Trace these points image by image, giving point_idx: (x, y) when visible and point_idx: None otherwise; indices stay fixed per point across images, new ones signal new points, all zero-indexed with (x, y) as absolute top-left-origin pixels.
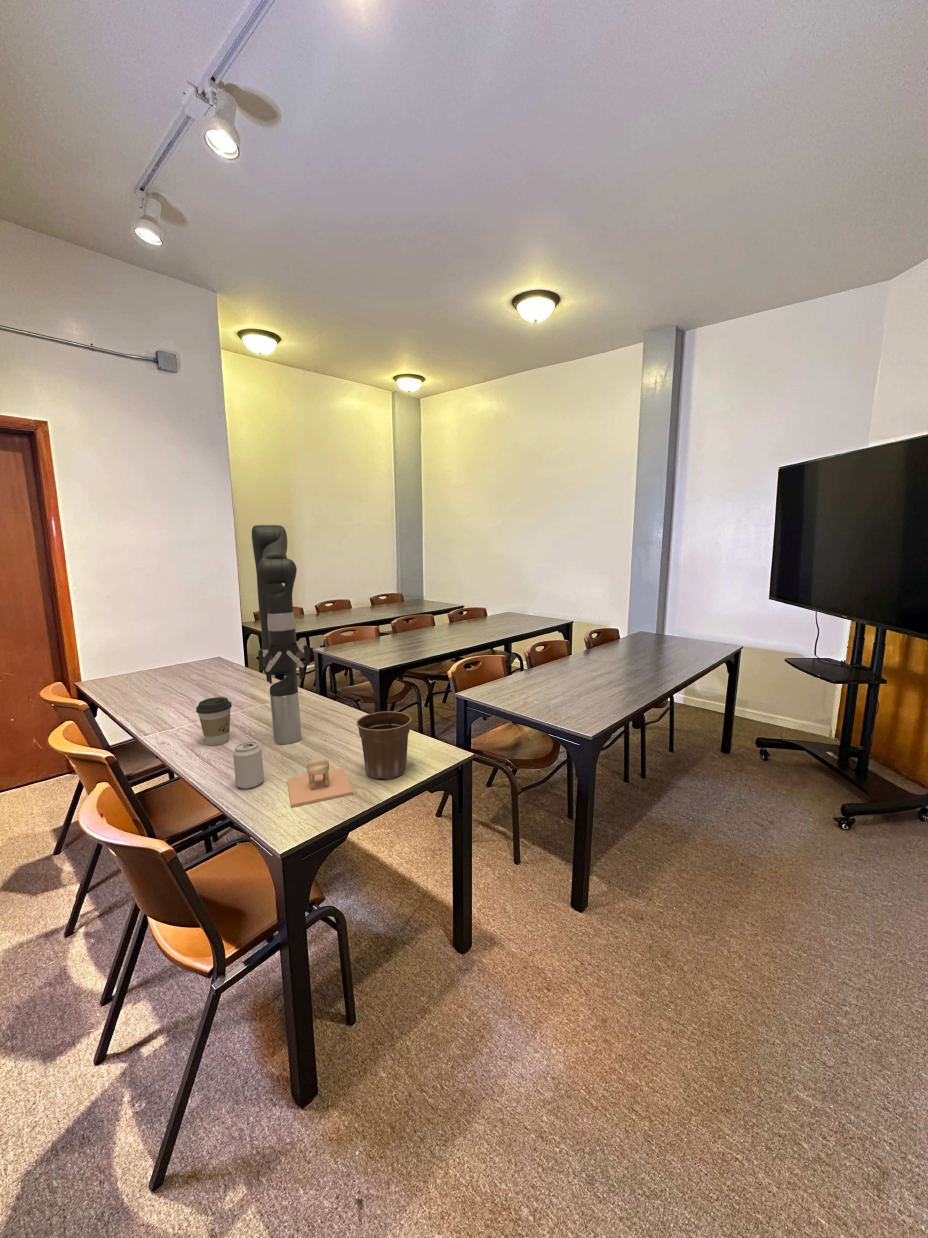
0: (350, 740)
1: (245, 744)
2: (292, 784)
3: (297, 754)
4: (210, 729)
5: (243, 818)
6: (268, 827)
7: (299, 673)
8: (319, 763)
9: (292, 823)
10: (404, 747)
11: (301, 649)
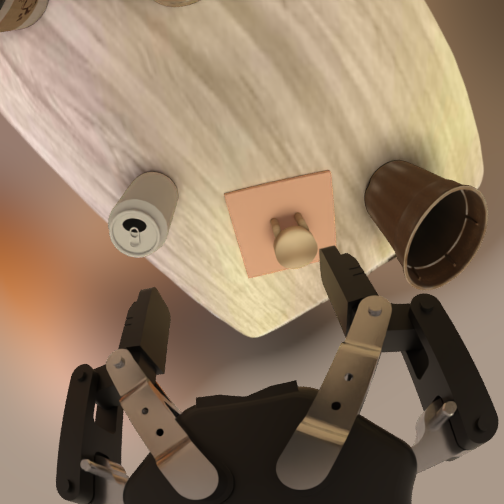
0: (344, 23)
1: (124, 219)
2: (239, 220)
3: (221, 64)
4: (3, 30)
5: (187, 289)
6: (227, 308)
7: (332, 291)
8: (300, 252)
9: (255, 305)
10: (438, 236)
11: (424, 442)
